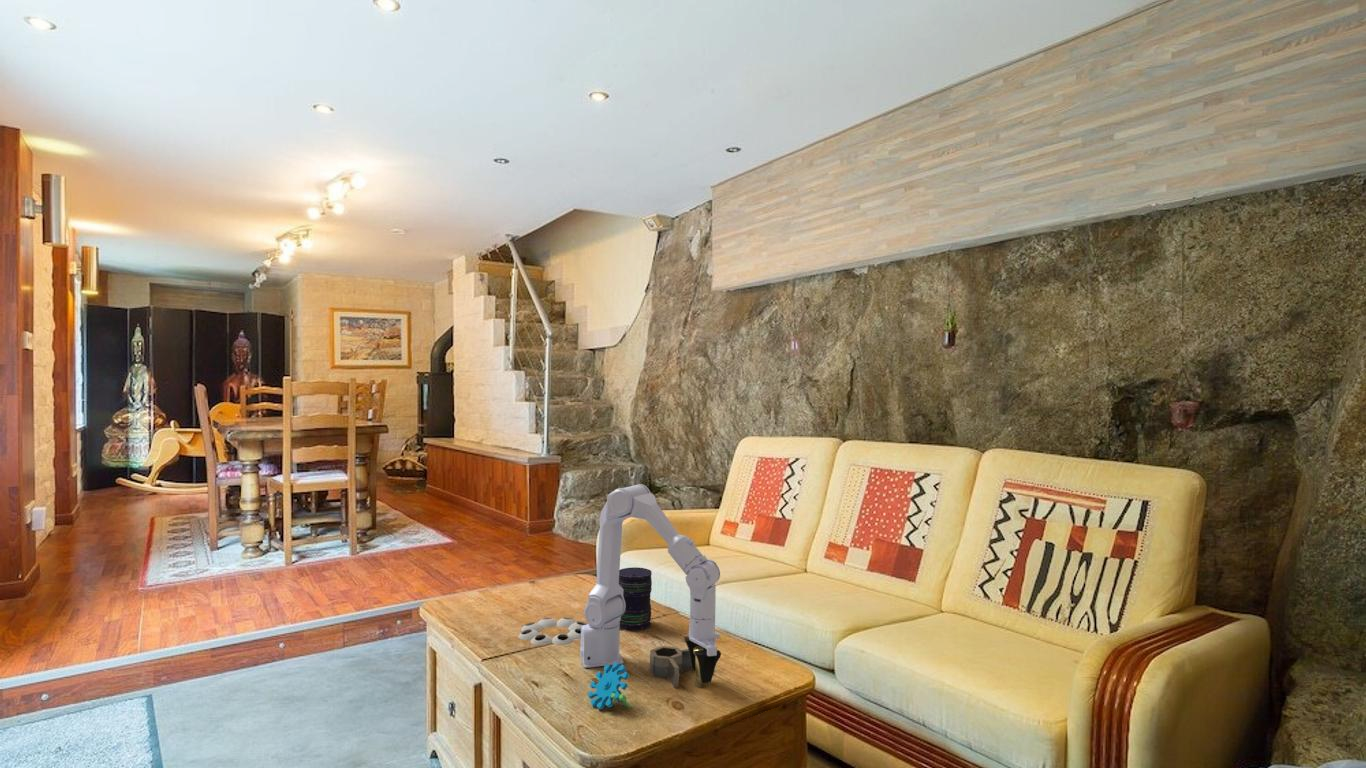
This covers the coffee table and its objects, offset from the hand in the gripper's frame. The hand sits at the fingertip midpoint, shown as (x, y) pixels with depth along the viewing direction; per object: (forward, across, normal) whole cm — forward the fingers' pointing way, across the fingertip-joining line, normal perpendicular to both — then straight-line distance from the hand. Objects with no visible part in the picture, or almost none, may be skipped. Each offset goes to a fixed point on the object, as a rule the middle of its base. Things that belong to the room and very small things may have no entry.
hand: (701, 675), depth 155 cm
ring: (+3, +41, +29) cm, 50 cm away
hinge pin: (+2, 0, 0) cm, 2 cm away
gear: (+2, -4, +22) cm, 22 cm away
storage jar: (+2, +41, +7) cm, 42 cm away
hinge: (+2, +6, +3) cm, 7 cm away
